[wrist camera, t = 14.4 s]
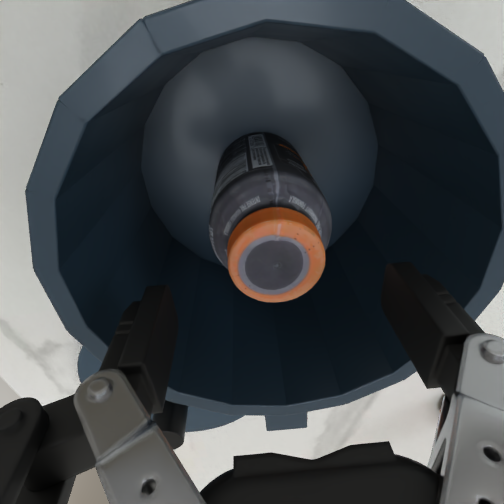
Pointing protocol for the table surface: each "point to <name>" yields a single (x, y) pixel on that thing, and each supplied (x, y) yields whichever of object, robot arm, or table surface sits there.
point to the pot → (316, 160)
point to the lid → (166, 409)
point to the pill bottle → (268, 219)
